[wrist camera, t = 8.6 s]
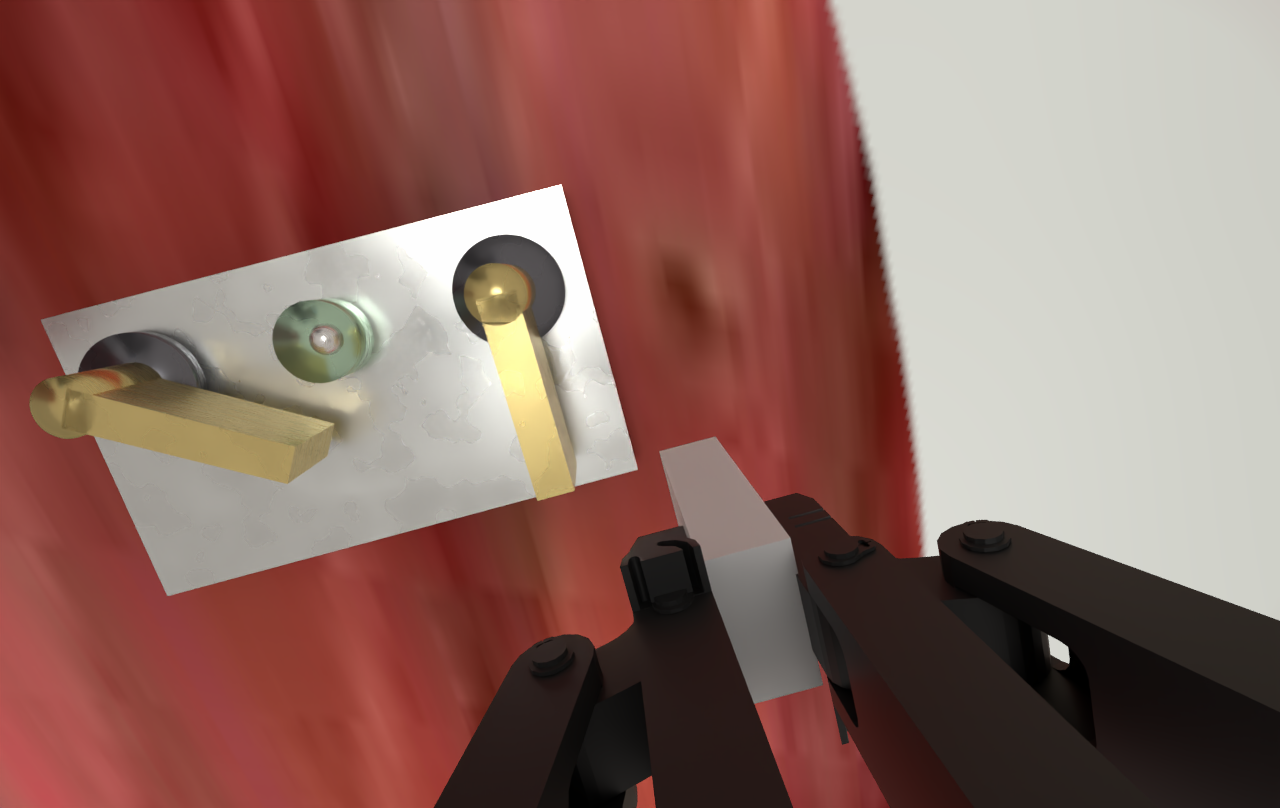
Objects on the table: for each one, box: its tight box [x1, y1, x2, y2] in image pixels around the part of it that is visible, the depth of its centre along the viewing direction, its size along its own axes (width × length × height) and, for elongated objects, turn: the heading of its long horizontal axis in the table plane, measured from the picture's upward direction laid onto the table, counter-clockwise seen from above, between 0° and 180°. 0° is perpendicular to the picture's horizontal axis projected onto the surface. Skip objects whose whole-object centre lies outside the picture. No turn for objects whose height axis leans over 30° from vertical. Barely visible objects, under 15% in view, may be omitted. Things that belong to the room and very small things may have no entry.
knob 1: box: [30, 331, 334, 484], centre depth 27 cm, size 11×5×5 cm, turn 74°
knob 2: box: [452, 234, 577, 501], centre depth 28 cm, size 11×5×5 cm, turn 15°
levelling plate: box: [41, 185, 638, 596], centre depth 30 cm, size 14×24×5 cm, turn 105°
